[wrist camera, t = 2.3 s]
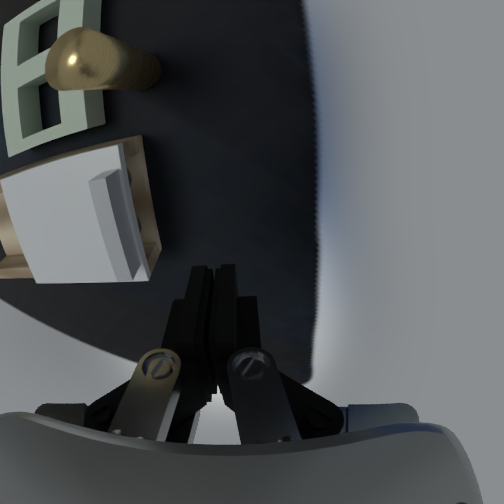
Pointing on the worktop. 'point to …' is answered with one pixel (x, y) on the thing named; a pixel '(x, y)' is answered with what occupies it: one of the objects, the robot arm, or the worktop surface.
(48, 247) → the cover
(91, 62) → the pin
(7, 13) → the worktop surface
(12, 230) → the tray
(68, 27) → the board
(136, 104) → the worktop surface
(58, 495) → the robot arm
